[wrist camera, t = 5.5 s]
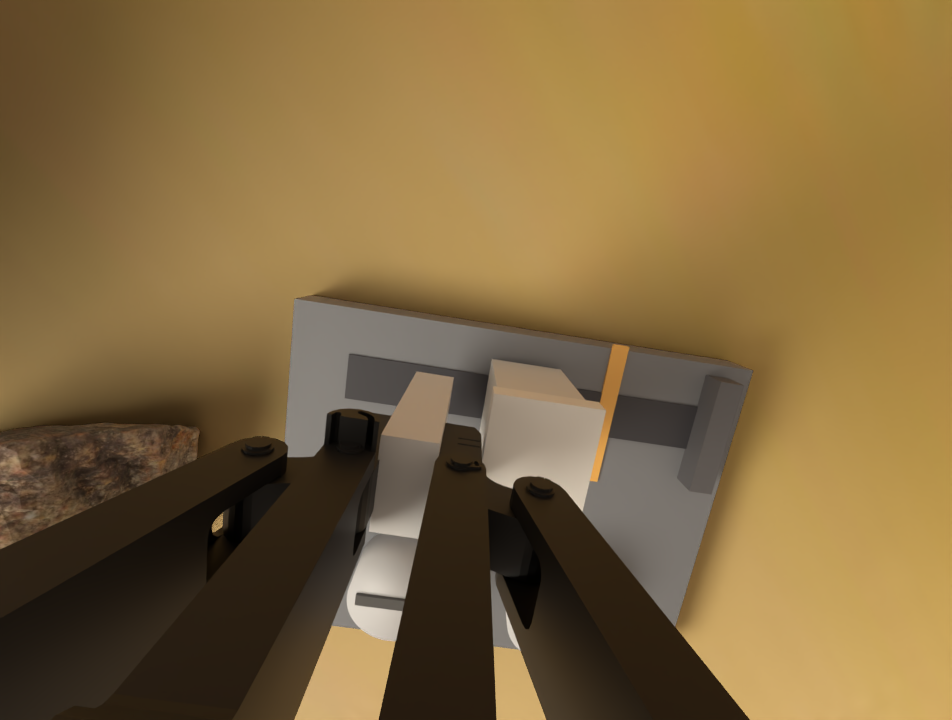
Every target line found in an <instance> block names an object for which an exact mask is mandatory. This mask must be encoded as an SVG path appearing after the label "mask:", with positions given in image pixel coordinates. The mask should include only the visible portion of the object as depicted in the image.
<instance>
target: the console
mask: <svg viewBox="0 0 952 720" xmlns="http://www.w3.org/2000/svg"><path fill="white" fill-rule="evenodd" d="M492 359H496V360H502V361H509V362H515V363H522V364H528V365H535V366H541V367H548V368H554V369H561V370H562V372H563V373H564V374H565V375H566V377H567V378H568V379H569V380H570V382H571V383H572V384H573V385H574V387H575V388H576V389H577V390H578V391H579V393H580V394H581V395H582V396H583V398H584V399H585V400H588V401H595V402H599V403H600V404H601V405H602V406H603V407H604V409H605V410H606V414H605V418H604V422H603V427H602V431H601V435H600V439H599V444H598V448H597V452H596V456H595V461H594V465H593V469H592V473H591V478H590V482H589V486H588V490H587V495H586V499H585V503H584V508H583V513H584V514H585V516H586V517H587V518H588V519H589V521H590V522H591V523H592V524H593V526H594V527H595V528H596V529H597V531H598V532H599V533H600V534H601V535H602V537H603V538H604V539H605V540H606V542H607V543H608V544H609V545H610V547H611V548H612V549H613V550H614V552H615V553H616V554H617V555H618V557H619V558H620V559H621V560H622V562H623V563H624V564H625V565H626V567H627V568H628V569H629V570H630V572H631V573H632V574H633V575H634V577H635V578H636V579H637V580H638V581H639V583H640V584H641V585H642V586H643V588H644V589H645V590H646V591H647V593H648V594H649V595H650V596H651V598H652V599H653V600H654V601H655V603H656V604H657V605H658V606H659V608H660V609H661V610H662V611H663V613H664V614H665V615H666V616H667V618H668V619H669V620H670V621H671V623H672V624H673V625H674V626H676V622H677V619H678V616H679V612H680V609H681V606H682V603H683V599H684V596H685V593H686V590H687V586H688V583H689V580H690V576H691V573H692V570H693V567H694V563H695V560H696V557H697V553H698V550H699V547H700V544H701V540H702V537H703V534H704V531H705V527H706V524H707V521H708V517H709V514H710V511H711V508H712V504H713V501H714V498H715V494H716V491H717V488H718V485H719V481H720V478H721V475H722V472H723V468H724V465H725V462H726V458H727V455H728V452H729V449H730V445H731V442H732V439H733V435H734V432H735V429H736V426H737V422H738V419H739V416H740V413H741V409H742V406H743V403H744V399H745V396H746V393H747V390H748V386H749V383H750V380H751V376H752V373H753V370H750V369H748V368H745V367H743V366H740V365H738V364H735V363H732V362H730V361H727V360H720V359H714V358H708V357H701V356H695V355H689V354H682V353H676V352H670V351H663V350H657V349H650V348H644V347H638V346H631V345H625V344H619V343H612V342H606V341H600V340H593V339H587V338H580V337H574V336H568V335H561V334H555V333H549V332H542V331H536V330H530V329H523V328H517V327H510V326H504V325H498V324H491V323H485V322H479V321H472V320H466V319H460V318H453V317H447V316H441V315H434V314H428V313H421V312H415V311H409V310H402V309H396V308H390V307H383V306H377V305H371V304H364V303H358V302H351V301H345V300H339V299H332V298H326V297H320V296H313V295H311V296H306V297H301V298H296V299H294V313H293V328H292V342H291V357H290V372H289V386H288V401H287V416H286V431H285V443H286V445H287V446H288V456H287V457H313V456H315V454H316V453H317V452H318V451H319V450H320V448H321V447H322V446H323V445H324V439H325V428H326V418H327V413H329V412H331V411H333V410H338V409H349V408H351V409H361V410H365V411H369V412H372V413H378V414H384V415H391V416H392V414H393V413H394V411H395V409H396V407H397V405H398V404H399V402H400V400H401V398H402V397H403V395H404V393H405V391H406V390H407V388H408V386H409V384H410V382H411V381H412V379H413V377H414V375H415V374H416V372H423V373H430V374H436V375H442V376H449V377H454V380H453V386H452V392H451V399H450V405H449V411H448V418H447V423H450V424H457V425H463V426H469V427H475V428H476V429H477V430H478V431H480V425H481V419H482V413H483V408H484V402H485V396H486V390H487V384H488V378H489V372H490V366H491V361H492ZM370 519H371V517H370ZM370 519H369V521H368V524H367V528H366V536H365V544H364V546H363V549H362V551H361V554H360V556H359V559H358V561H357V564H356V566H355V569H354V571H353V574H352V576H351V579H350V581H349V584H348V586H347V589H346V591H345V594H344V596H343V599H342V601H341V604H340V606H339V609H338V611H337V614H336V616H335V619H334V621H333V624H332V626H339V627H347V628H355V629H361V630H363V631H364V632H365V633H367V634H369V635H371V636H373V637H375V638H378V639H381V640H386V641H396V638H397V634H398V629H399V624H400V620H401V615H402V611H403V606H404V602H405V597H406V592H407V588H408V583H409V579H410V574H411V570H412V565H413V560H414V556H415V551H416V547H417V542H418V539H416V538H409V537H402V536H396V535H389V534H382V533H375V532H369V527H370ZM495 574H496V572H494V571H491V570H490V575H491V600H492V625H493V646H495V647H503V648H511V649H519V650H520V648H519V645H518V642H517V640H516V637H515V634H514V632H513V629H512V626H511V624H510V621H509V618H508V616H507V613H506V610H505V608H504V605H503V602H502V600H501V597H500V594H499V592H498V589H497V586H496V582H495ZM520 651H521V650H520Z"/></svg>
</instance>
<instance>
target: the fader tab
mask: <svg viewBox="0 0 952 720" xmlns="http://www.w3.org/2000/svg"><path fill="white" fill-rule="evenodd" d="M605 414H606V410H605V409H604V407H603V406H602V405H601V404H600V403H599V402H595V401H588V400H585V399H584V398H583V396H582V395H581V394H580V393H579V391H578V390H577V389H576V388H575V387H574V385H573V384H572V383H571V382H570V380H569V379H568V378H567V377H566V375H565V374H564V373H563V372H562V370H561V369H554V368H548V367H541V366H535V365H528V364H522V363H515V362H509V361H502V360H496V359H492V361H491V366H490V372H489V378H488V384H487V390H486V396H485V402H484V408H483V413H482V419H481V425H480V431H479V432H480V433H481V440H482V441H481V442H482V463H484V465H485V467H486V476H487V477H488V478H489V479H491V480H492V481H494V482H496V483H498V484H501V485H503V486H506V487H509V488H513V484H514V482H515V480H516V479H518V478H521V477H526V476H533V477H537V476H540V477H544V479H545V478H547V479H550V480H551V481H552V482H554V483H556V484H558V485H560V486H561V487H562V488H563V489H564V490H565V491H566V492H567V493H568V494H569V496H570V497H571V498H572V499H573V501H574V502H575V503H576V504H577V506H578V507H579V508H580V509H581V511H582V512H583V508H584V503H585V499H586V495H587V490H588V486H589V482H590V478H591V473H592V469H593V465H594V461H595V456H596V452H597V448H598V444H599V439H600V435H601V431H602V427H603V422H604V418H605Z"/></svg>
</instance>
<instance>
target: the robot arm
mask: <svg viewBox="0 0 952 720" xmlns="http://www.w3.org/2000/svg"><path fill="white" fill-rule="evenodd" d="M453 380H454V377H449V376H442V375H436V374H430V373H423V372H416V374H415V375H414V377H413V379H412V381H411V382H410V384H409V386H408V388H407V390H406V391H405V393H404V395H403V397H402V398H401V400H400V402H399V404H398V405H397V407H396V409H395V411H394V413H393V414H392V416H391V415H384V414H378V413H372V412H369V411H365V410H361V409H351V408H349V409H338V410H333V411H331V412H329V413H327V418H326V428H325V439H324V445H323V446H322V447H321V448H320V450H319V451H318V452H317V453H316V454H315V456H313V457H287V456H288V446H287V445H286V443H285V442H283V441H280V440H278V439H273V438H270V437H264V436H262V437H261V436H256V437H253V438H247V439H242V440H239V441H236V442H234V443H231V444H229V445H227V446H225V447H223V448H220V449H218V450H216V451H214V452H212V453H210V454H207V455H205V456H203V457H201V458H199V459H196V460H194V461H192V462H190V463H188V464H185V465H183V466H181V467H179V468H177V469H175V470H172V471H170V472H168V473H166V474H164V475H161V476H159V477H157V478H155V479H153V480H151V481H148V482H146V483H144V484H142V485H140V486H137V487H135V488H133V489H131V490H129V491H127V492H124V493H122V494H120V495H118V496H116V497H113V498H111V499H109V500H107V501H105V502H102V503H100V504H98V505H96V506H94V507H92V508H89V509H87V510H85V511H83V512H81V513H78V514H76V515H74V516H72V517H70V518H68V519H65V520H63V521H61V522H59V523H57V524H54V525H52V526H50V527H48V528H46V529H44V530H41V531H39V532H37V533H35V534H33V535H30V536H28V537H26V538H24V539H22V540H19V541H17V542H15V543H13V544H11V545H9V546H6V547H4V548H2V549H0V720H294V719H295V716H296V714H297V711H298V709H299V706H300V704H301V701H302V699H303V696H304V694H305V691H306V689H307V686H308V684H309V681H310V679H311V676H312V674H313V671H314V669H315V666H316V664H317V661H318V659H319V656H320V654H321V651H322V649H323V646H324V644H325V641H326V639H327V636H328V634H329V631H330V629H331V626H332V624H333V621H334V619H335V616H336V614H337V611H338V609H339V606H340V604H341V601H342V599H343V596H344V594H345V591H346V589H347V586H348V584H349V581H350V579H351V576H352V574H353V571H354V569H355V566H356V564H357V561H358V559H359V556H360V554H361V551H362V549H363V546H364V544H365V536H366V528H367V524H368V521H369V519H370V517H371V519H370V527H369V532H375V533H382V534H389V535H396V536H402V537H409V538H416V539H418V542H417V547H416V551H415V556H414V560H413V565H412V570H411V574H410V579H409V583H408V588H407V592H406V597H405V602H404V606H403V611H402V615H401V620H400V624H399V629H398V634H397V638H396V643H395V647H394V652H393V657H392V661H391V666H390V670H389V675H388V679H387V684H386V689H385V693H384V698H383V702H382V707H381V712H380V716H379V720H496V699H495V674H494V650H493V625H492V600H491V575H490V570H491V571H494V572H496V574H495V582H496V586H497V589H498V592H499V594H500V597H501V600H502V602H503V605H504V608H505V610H506V613H507V616H508V618H509V621H510V624H511V626H512V629H513V632H514V634H515V637H516V640H517V642H518V645H519V648H520V650H521V653H522V656H523V658H524V661H525V664H526V666H527V669H528V672H529V674H530V677H531V680H532V682H533V685H534V688H535V690H536V693H537V696H538V698H539V701H540V704H541V706H542V709H543V712H544V714H545V717H546V720H750V719H749V718H748V717H747V716H746V715H745V713H744V712H743V711H742V710H741V708H740V707H739V706H738V705H737V703H736V702H735V701H734V700H733V698H732V697H731V696H730V695H729V693H728V692H727V691H726V690H725V688H724V687H723V686H722V685H721V683H720V682H719V681H718V680H717V678H716V677H715V676H714V675H713V673H712V672H711V671H710V670H709V669H708V667H707V666H706V665H705V664H704V662H703V661H702V660H701V659H700V657H699V656H698V655H697V654H696V652H695V651H694V650H693V649H692V647H691V646H690V645H689V644H688V642H687V641H686V640H685V639H684V637H683V636H682V635H681V634H680V632H679V631H678V630H677V629H676V627H675V626H674V625H673V624H672V623H671V621H670V620H669V619H668V618H667V616H666V615H665V614H664V613H663V611H662V610H661V609H660V608H659V606H658V605H657V604H656V603H655V601H654V600H653V599H652V598H651V596H650V595H649V594H648V593H647V591H646V590H645V589H644V588H643V586H642V585H641V584H640V583H639V581H638V580H637V579H636V578H635V577H634V575H633V574H632V573H631V572H630V570H629V569H628V568H627V567H626V565H625V564H624V563H623V562H622V560H621V559H620V558H619V557H618V555H617V554H616V553H615V552H614V550H613V549H612V548H611V547H610V545H609V544H608V543H607V542H606V540H605V539H604V538H603V537H602V535H601V534H600V533H599V532H598V531H597V529H596V528H595V527H594V526H593V524H592V523H591V522H590V521H589V519H588V518H587V517H586V516H585V514H584V513H583V512H582V511H581V509H580V508H579V507H578V506H577V504H576V503H575V502H574V501H573V499H572V498H571V497H570V496H569V494H568V493H567V492H566V491H565V490H564V489H563V488H562V487H561V486H560V485H558V484H556V483H554V482H552V481H551V480H550V479H547V478H545V479H544V477H540V476H537V477H533V476H526V477H521V478H518V479H516V480H515V482H514V484H513V488H509V487H506V486H503V485H501V484H498V483H496V482H494V481H492V480H491V479H489V478H488V477H487V476H486V467H485V465H484V463H482V442H481V441H482V440H481V433H480V432H479V431H478V430H477V429H476V428H475V427H469V426H463V425H457V424H450V423H447V418H448V411H449V405H450V399H451V392H452V386H453ZM222 512H223V527H222V528H220V529H219V530H217V531H216V532H214V533H212V524H213V522H214V521H215V519H216V518H217V517H218V516H219V515H220V514H221V513H222Z"/></svg>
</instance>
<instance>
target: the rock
mask: <svg viewBox="0 0 952 720" xmlns="http://www.w3.org/2000/svg"><path fill="white" fill-rule="evenodd" d="M199 433H200V431H199V429H198V428H197V427H195V426H193V427H185V426H181V425H173V426H169V425H161V424H115V423H95V424H85V425H74V426H60V425H53V426H47V425H42V426H35V427H27V428H17V429H12V430H8V431H3V432H0V549H2V548H4V547H6V546H9V545H11V544H13V543H15V542H17V541H19V540H22V539H24V538H26V537H28V536H30V535H33V534H35V533H37V532H39V531H41V530H44V529H46V528H48V527H50V526H52V525H54V524H57V523H59V522H61V521H63V520H65V519H68V518H70V517H72V516H74V515H76V514H78V513H81V512H83V511H85V510H87V509H89V508H92V507H94V506H96V505H98V504H100V503H102V502H105V501H107V500H109V499H111V498H113V497H116V496H118V495H120V494H122V493H124V492H127V491H129V490H131V489H133V488H135V487H137V486H140V485H142V484H144V483H146V482H148V481H151V480H153V479H155V478H157V477H159V476H161V475H164V474H166V473H168V472H170V471H172V470H175V469H177V468H179V467H181V466H183V465H185V464H188V463H190V462H192V461H194V460H196V459H197V447H198V438H199Z"/></svg>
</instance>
